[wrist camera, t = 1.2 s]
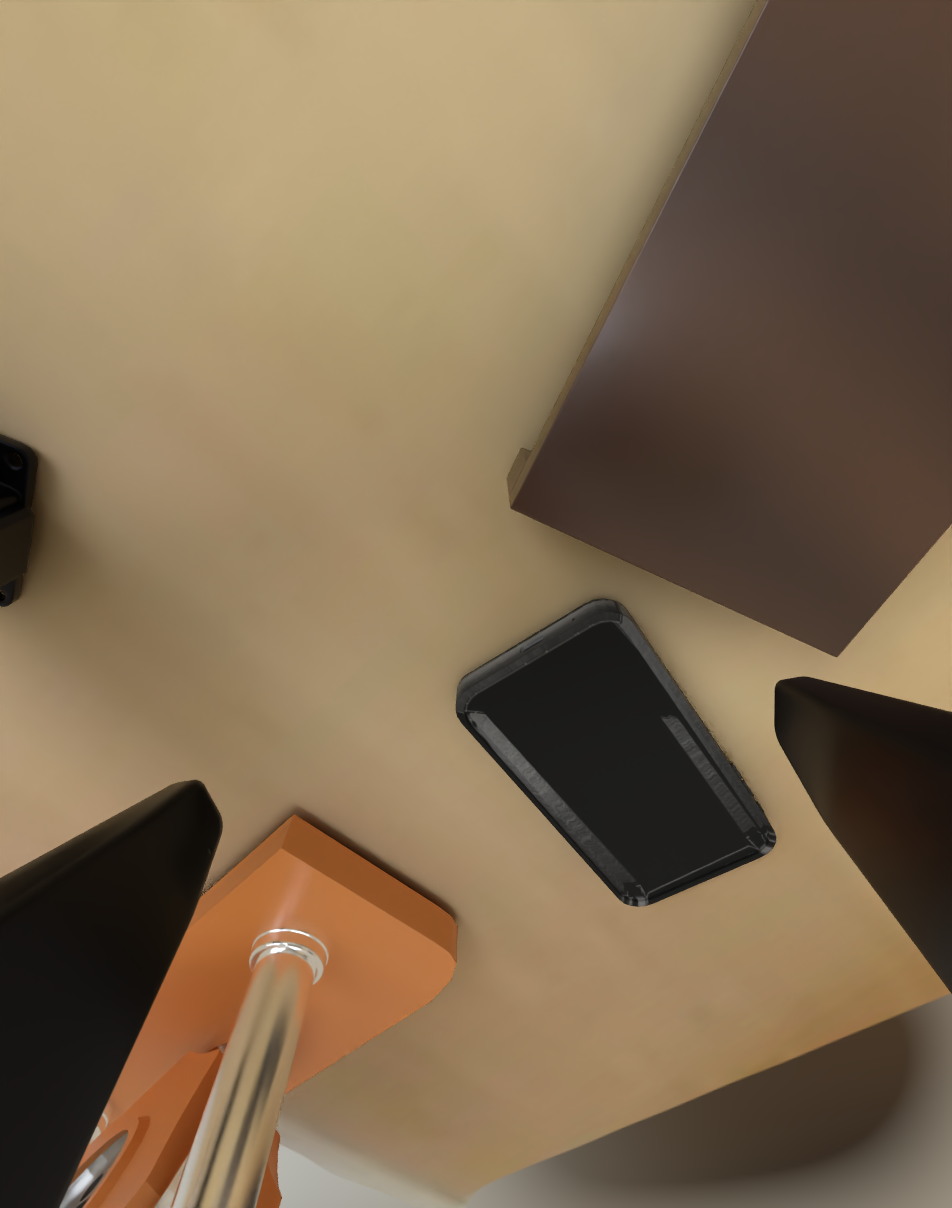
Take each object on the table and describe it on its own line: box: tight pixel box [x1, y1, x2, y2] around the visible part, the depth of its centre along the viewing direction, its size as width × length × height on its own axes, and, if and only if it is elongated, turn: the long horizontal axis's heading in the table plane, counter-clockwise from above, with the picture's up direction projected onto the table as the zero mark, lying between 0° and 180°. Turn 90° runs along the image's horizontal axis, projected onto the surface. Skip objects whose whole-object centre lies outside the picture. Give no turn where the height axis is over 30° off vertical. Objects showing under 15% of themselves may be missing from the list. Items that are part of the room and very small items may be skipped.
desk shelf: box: [507, 0, 952, 657], centre depth 16 cm, size 18×12×4 cm, turn 155°
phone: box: [456, 599, 776, 907], centre depth 25 cm, size 8×1×15 cm
